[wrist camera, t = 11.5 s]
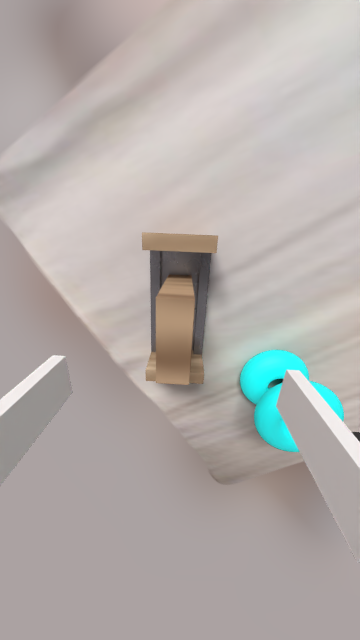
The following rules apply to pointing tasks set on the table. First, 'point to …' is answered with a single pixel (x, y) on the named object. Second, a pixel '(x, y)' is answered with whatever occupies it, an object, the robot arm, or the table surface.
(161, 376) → the door panel
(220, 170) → the table surface
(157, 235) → the frame posts
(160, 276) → the track
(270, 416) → the donuts
